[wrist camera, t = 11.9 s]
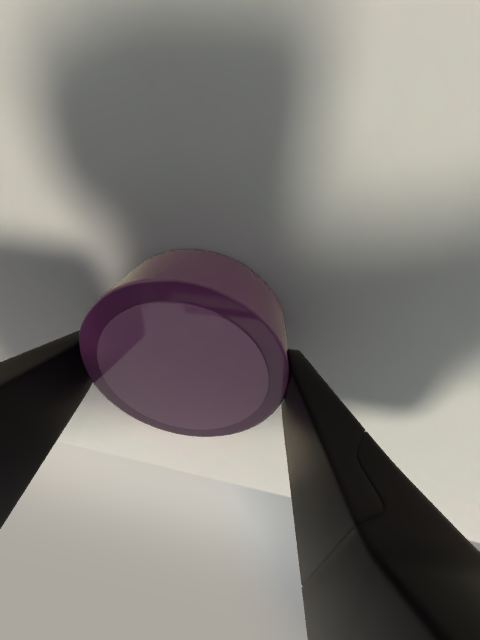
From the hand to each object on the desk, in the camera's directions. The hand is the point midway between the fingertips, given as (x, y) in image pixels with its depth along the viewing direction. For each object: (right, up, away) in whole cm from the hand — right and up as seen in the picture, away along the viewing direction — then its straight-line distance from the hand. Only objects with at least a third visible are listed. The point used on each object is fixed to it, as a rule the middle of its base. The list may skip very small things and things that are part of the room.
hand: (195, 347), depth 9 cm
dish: (0, +1, +1) cm, 1 cm away
